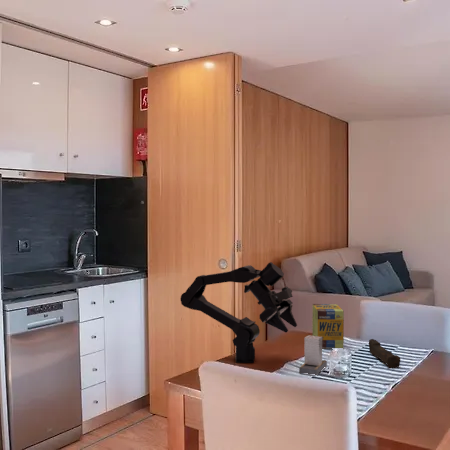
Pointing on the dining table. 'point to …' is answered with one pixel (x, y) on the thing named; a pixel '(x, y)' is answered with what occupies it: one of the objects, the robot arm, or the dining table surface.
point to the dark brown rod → (383, 354)
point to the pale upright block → (313, 350)
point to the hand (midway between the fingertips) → (291, 329)
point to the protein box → (328, 325)
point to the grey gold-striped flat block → (312, 368)
